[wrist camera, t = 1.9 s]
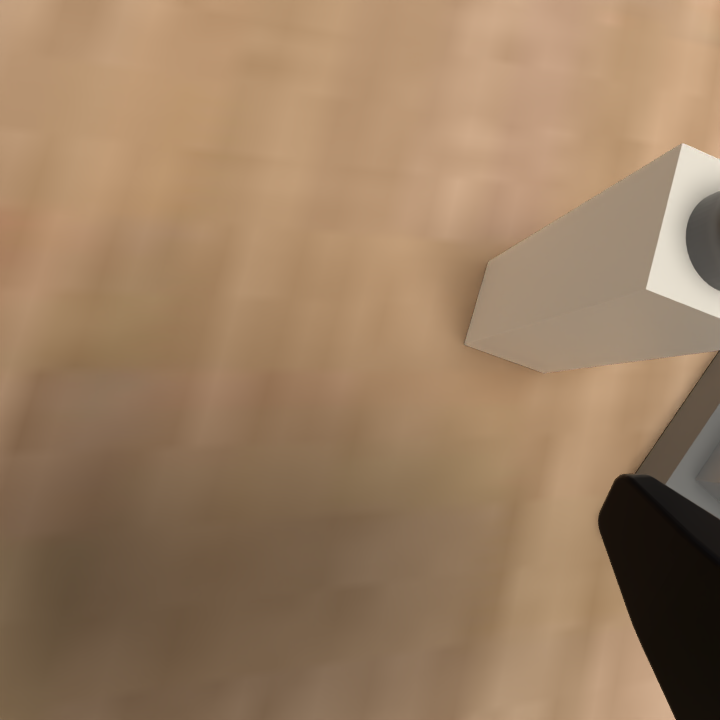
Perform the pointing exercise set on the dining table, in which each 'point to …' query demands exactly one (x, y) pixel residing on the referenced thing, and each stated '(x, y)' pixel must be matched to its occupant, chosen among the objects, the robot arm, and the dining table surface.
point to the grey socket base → (692, 446)
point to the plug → (612, 275)
